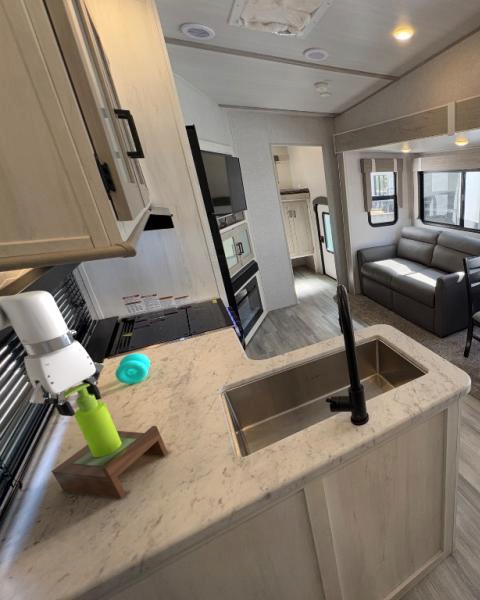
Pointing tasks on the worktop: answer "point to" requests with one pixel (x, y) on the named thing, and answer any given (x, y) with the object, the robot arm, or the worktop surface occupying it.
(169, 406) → the worktop surface
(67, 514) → the worktop surface
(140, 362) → the turquoise spool
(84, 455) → the wooden picture frame
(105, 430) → the soap dispenser
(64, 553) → the worktop surface
